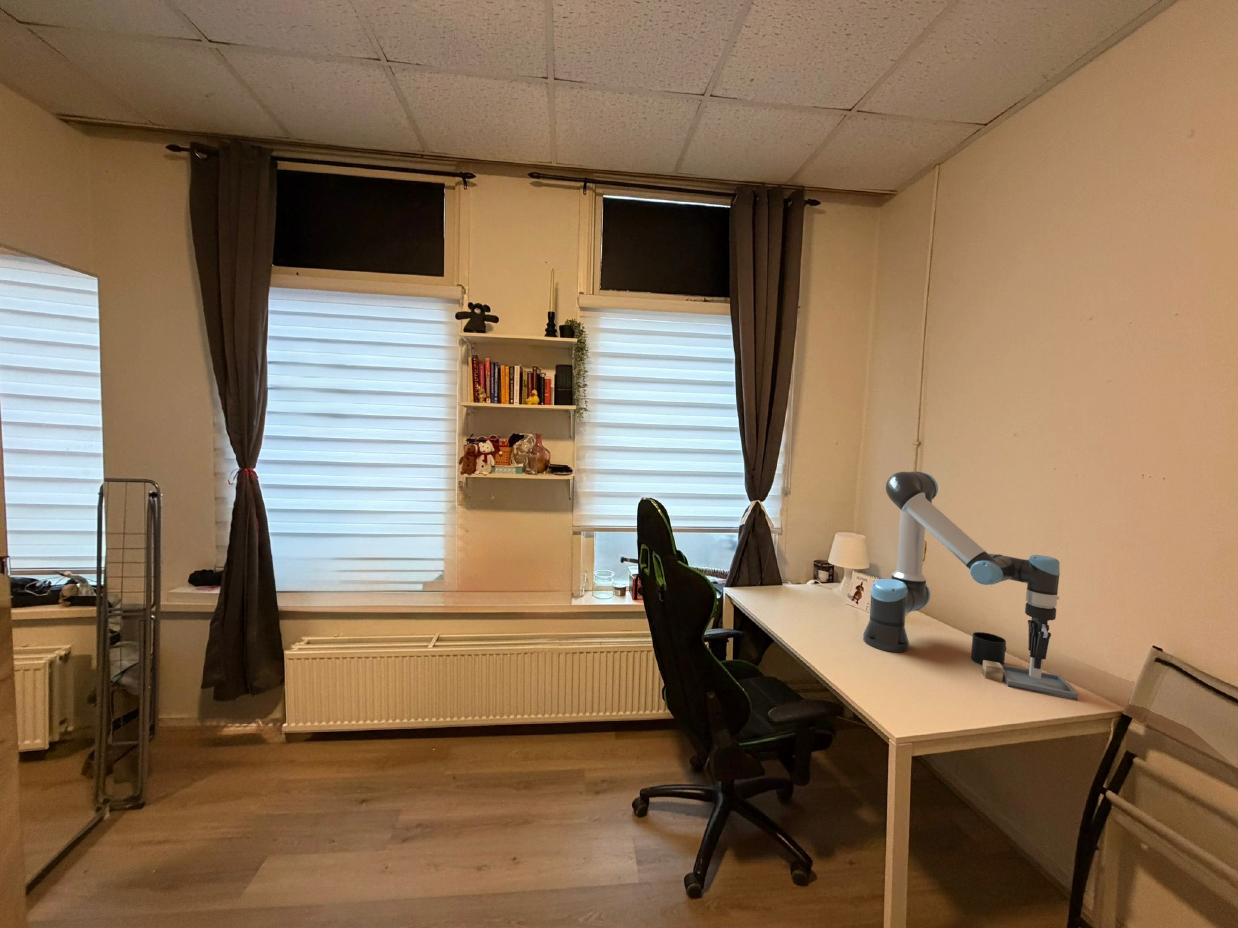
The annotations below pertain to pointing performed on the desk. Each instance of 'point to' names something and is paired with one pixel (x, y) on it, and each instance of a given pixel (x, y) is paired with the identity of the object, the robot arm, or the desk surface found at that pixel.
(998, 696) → the desk surface
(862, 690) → the desk surface
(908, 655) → the desk surface
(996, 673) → the oak block
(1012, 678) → the tray
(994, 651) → the mug
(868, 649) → the desk surface
